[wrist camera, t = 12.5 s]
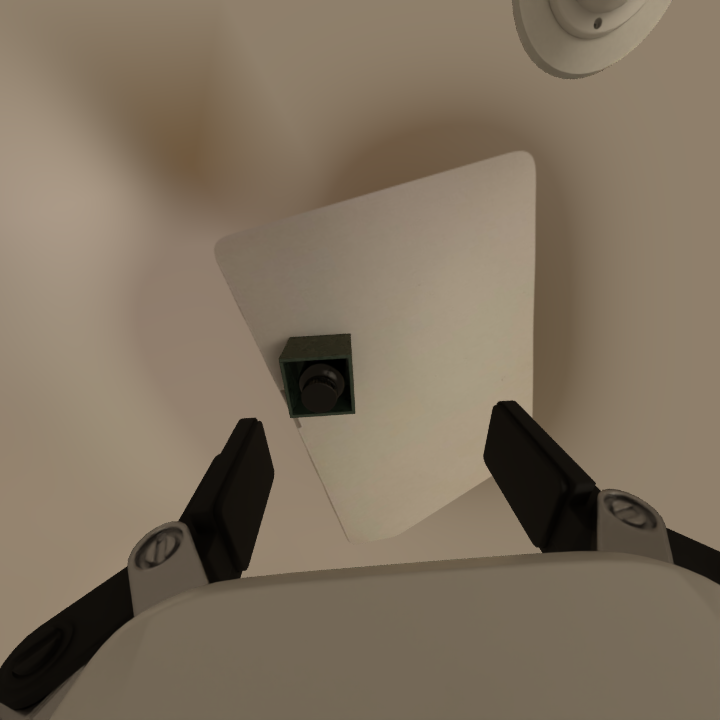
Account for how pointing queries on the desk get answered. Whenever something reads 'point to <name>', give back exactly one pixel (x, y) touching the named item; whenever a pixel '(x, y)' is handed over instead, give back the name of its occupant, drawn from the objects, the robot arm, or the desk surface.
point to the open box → (316, 350)
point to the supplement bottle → (322, 383)
